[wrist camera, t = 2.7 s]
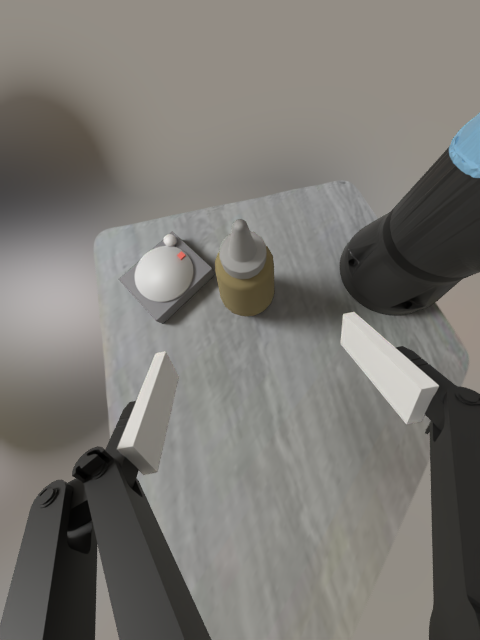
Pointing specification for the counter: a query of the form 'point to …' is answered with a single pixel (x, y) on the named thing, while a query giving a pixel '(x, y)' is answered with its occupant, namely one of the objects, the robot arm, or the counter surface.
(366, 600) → the counter surface
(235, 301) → the squeeze bottle
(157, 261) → the white dome on base
